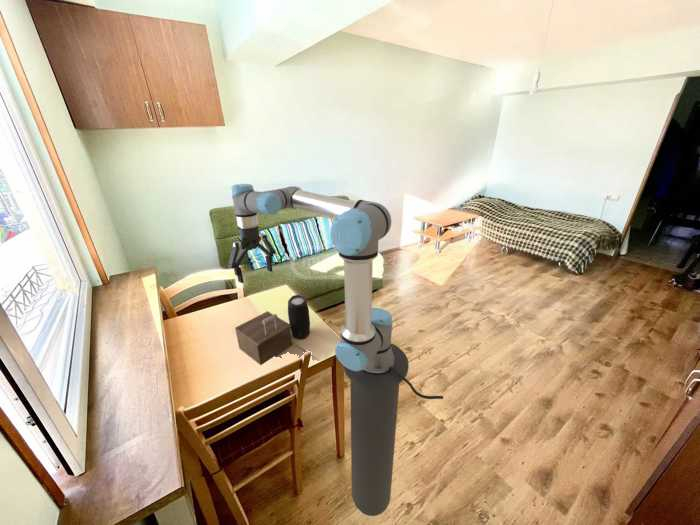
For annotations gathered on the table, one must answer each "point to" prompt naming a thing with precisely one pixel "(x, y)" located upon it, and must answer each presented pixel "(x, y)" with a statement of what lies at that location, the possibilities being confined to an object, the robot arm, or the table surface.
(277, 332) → the lid
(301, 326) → the portable speaker
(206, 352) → the table surface
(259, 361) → the chest
